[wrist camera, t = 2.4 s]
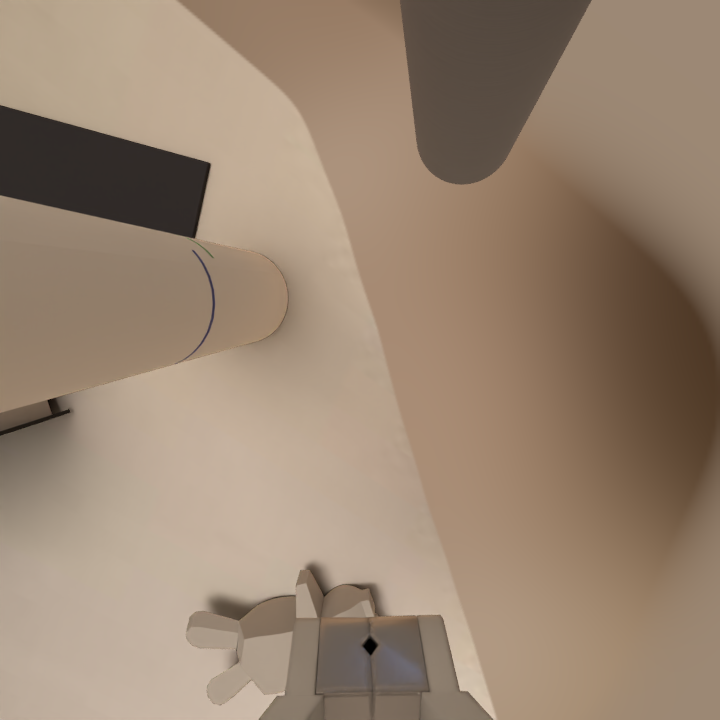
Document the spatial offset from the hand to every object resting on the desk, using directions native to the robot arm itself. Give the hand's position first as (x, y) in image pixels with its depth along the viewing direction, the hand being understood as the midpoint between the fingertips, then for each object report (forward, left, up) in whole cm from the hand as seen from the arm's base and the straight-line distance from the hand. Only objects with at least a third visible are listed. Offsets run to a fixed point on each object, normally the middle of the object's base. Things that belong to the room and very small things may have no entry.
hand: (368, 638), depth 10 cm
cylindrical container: (-3, -15, -27) cm, 31 cm away
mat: (-5, -31, -27) cm, 41 cm away
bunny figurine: (+22, -4, -27) cm, 35 cm away
